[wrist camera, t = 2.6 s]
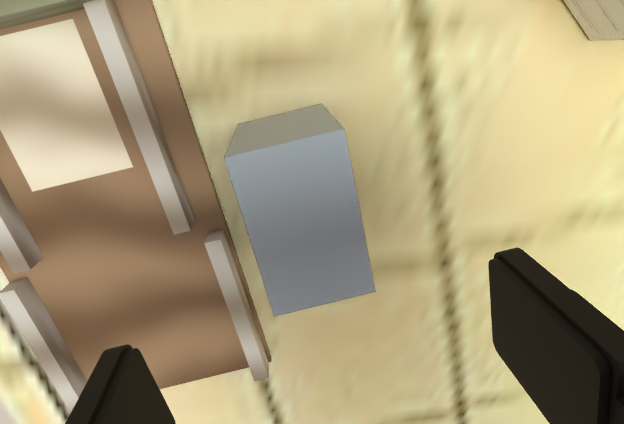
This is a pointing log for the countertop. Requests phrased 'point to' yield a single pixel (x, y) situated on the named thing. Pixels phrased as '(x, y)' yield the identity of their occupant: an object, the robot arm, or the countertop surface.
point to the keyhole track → (112, 202)
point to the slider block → (300, 208)
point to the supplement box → (599, 18)
